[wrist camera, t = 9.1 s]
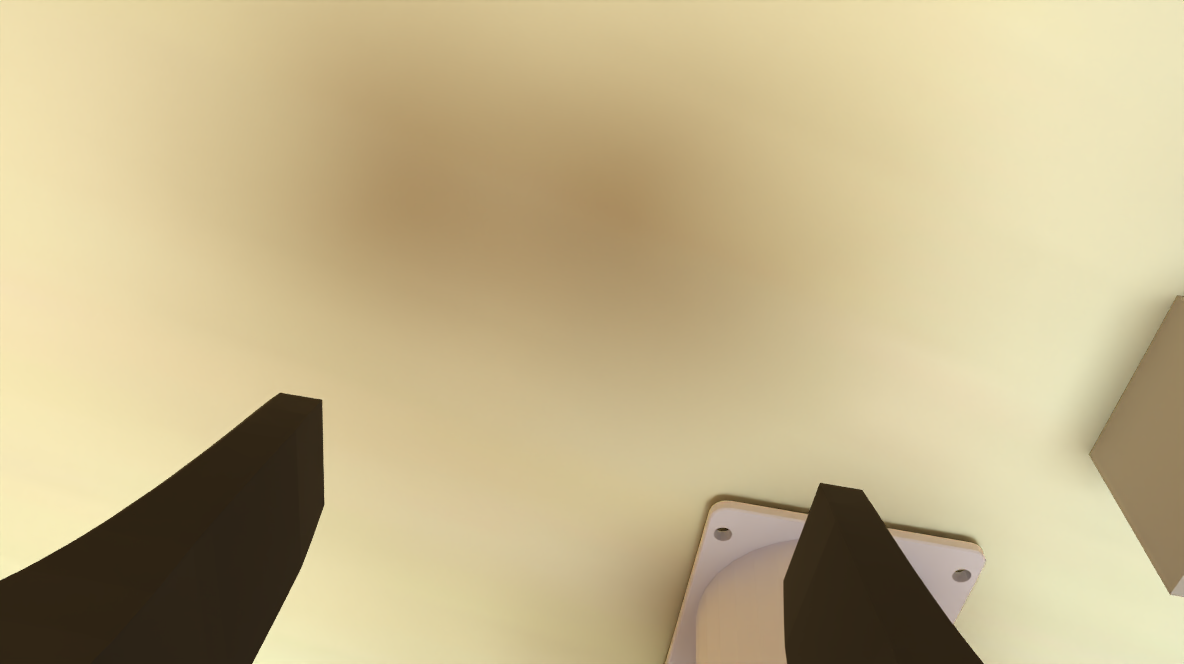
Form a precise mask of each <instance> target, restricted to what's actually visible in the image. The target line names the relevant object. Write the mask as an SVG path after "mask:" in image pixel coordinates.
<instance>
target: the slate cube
mask: <svg viewBox="0 0 1184 664" xmlns="http://www.w3.org/2000/svg"><path fill="white" fill-rule="evenodd" d="M1089 456H1090V457H1091V459H1092V461H1093V462H1094V464H1095V466H1096V468H1097V469H1098V471H1099V473H1100V475H1101V476H1102V478H1103V480H1104V481H1105V483H1106V485H1107V487H1108V488H1109V490H1110V492H1111V494H1112V495H1113V497H1114V499H1115V500H1116V502H1117V504H1118V506H1119V507H1120V509H1121V511H1122V513H1123V514H1124V516H1125V518H1126V519H1127V521H1128V523H1129V525H1130V526H1131V528H1132V530H1133V532H1134V533H1135V535H1136V537H1137V538H1138V540H1139V542H1140V544H1141V545H1142V547H1143V549H1144V551H1145V552H1146V554H1147V556H1148V557H1149V559H1150V561H1151V563H1152V564H1153V566H1154V568H1155V570H1156V571H1157V573H1158V575H1159V576H1160V578H1161V580H1162V582H1163V583H1164V585H1165V587H1166V588H1167V590H1168V592H1169V594H1170V595H1175V596H1181V597H1184V296H1178V295H1177V297H1176V299H1175V301H1174V303H1173V304H1172V306H1171V308H1170V310H1169V312H1168V313H1167V315H1166V317H1165V319H1164V321H1163V322H1162V324H1161V326H1160V328H1159V330H1158V331H1157V333H1156V335H1155V337H1154V339H1153V340H1152V342H1151V344H1150V346H1149V348H1148V349H1147V351H1146V353H1145V355H1144V357H1143V358H1142V360H1141V362H1140V364H1139V366H1138V367H1137V369H1136V371H1135V373H1134V375H1133V377H1132V378H1131V380H1130V382H1129V384H1128V386H1127V387H1126V389H1125V391H1124V393H1123V395H1122V396H1121V398H1120V400H1119V402H1118V404H1117V405H1116V407H1115V409H1114V411H1113V413H1112V414H1111V416H1110V418H1109V420H1108V422H1107V423H1106V425H1105V427H1104V429H1103V431H1102V432H1101V434H1100V436H1099V438H1098V440H1097V441H1096V443H1095V445H1094V447H1093V449H1092V450H1091V452H1090V454H1089Z"/></svg>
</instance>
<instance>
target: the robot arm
mask: <svg viewBox="0 0 1184 664" xmlns="http://www.w3.org/2000/svg"><path fill="white" fill-rule="evenodd" d="M323 507H324V467H323V419H322V400H320V399H314V398H308V397H302V396H296V395H290V394H284V393H279V394H278V395H276V396H275V397H273V398H272V399H270V400H269V401H268V402H267V403H265V404H264V405H263V406H261V407H260V408H259V409H258V410H256V411H255V412H254V413H253V414H251V415H250V416H249V417H248V418H246V419H245V420H244V421H243V422H241V423H240V424H239V425H238V426H236V427H235V428H234V429H233V430H231V431H230V432H229V433H228V434H226V435H225V436H224V437H222V438H221V439H220V440H219V441H217V442H216V443H215V444H213V445H212V446H211V447H210V448H208V449H207V450H206V451H204V452H203V453H202V454H200V455H199V456H198V457H196V458H195V459H194V460H192V461H191V462H190V463H188V464H187V465H186V466H184V467H183V468H182V469H180V470H179V471H178V472H176V473H175V474H174V475H172V476H171V477H170V478H168V479H167V480H165V481H164V482H163V483H161V484H160V485H158V486H157V487H156V488H154V489H153V490H151V491H150V492H148V493H147V494H145V495H144V496H142V497H141V498H139V499H138V500H136V501H135V502H134V503H132V504H131V505H129V506H128V507H126V508H125V509H123V510H122V511H120V512H119V513H117V514H116V515H114V516H113V517H111V518H110V519H108V520H107V521H105V522H104V523H102V524H100V525H99V526H97V527H96V528H94V529H92V530H91V531H89V532H88V533H86V534H84V535H83V536H81V537H79V538H78V539H76V540H74V541H73V542H71V543H69V544H68V545H66V546H64V547H62V548H61V549H59V550H57V551H55V552H54V553H52V554H50V555H48V556H47V557H45V558H43V559H41V560H39V561H38V562H36V563H34V564H32V565H30V566H28V567H26V568H25V569H23V570H21V571H19V572H17V573H15V574H13V575H10V576H8V577H6V578H4V579H2V580H0V664H252V663H253V661H254V659H255V657H256V655H257V653H258V652H259V650H260V648H261V646H262V644H263V642H264V640H265V638H266V636H267V634H268V632H269V630H270V628H271V626H272V625H273V623H274V621H275V619H276V617H277V615H278V613H279V611H280V609H281V607H282V605H283V603H284V601H285V599H286V597H287V595H288V593H289V591H290V589H291V587H292V585H293V583H294V581H295V579H296V577H297V575H298V573H299V571H300V569H301V567H302V565H303V562H304V559H305V557H306V554H307V551H308V549H309V546H310V543H311V541H312V538H313V535H314V532H315V530H316V527H317V524H318V521H319V518H320V515H321V513H322V510H323ZM718 528H727V529H729V530H727V531H718V530H716V529H718ZM985 562H986V559H985V557H984V554H983V551H982V549H981V547H979V546H978V545H977V544H974V543H971V542H965V541H960V540H954V539H948V538H942V537H937V536H931V535H925V534H919V533H914V532H908V531H902V530H896V529H891V528H887V527H886V526H885V524H884V522H883V521H882V519H881V518H880V516H879V515H878V513H877V512H876V510H875V509H874V507H873V506H872V504H871V503H870V501H869V500H868V498H867V497H866V495H865V494H864V492H863V491H862V490H859V489H853V488H847V487H841V486H835V485H829V484H823V483H820V484H819V487H818V490H817V492H816V495H815V498H814V500H813V503H812V506H811V508H810V511H809V514H804V513H798V512H793V511H787V510H781V509H775V508H770V507H764V506H758V505H752V504H747V503H741V502H735V501H724V500H723V501H720V502H717V503H715V504H714V505H712V507H711V508H710V510H709V513H708V517H707V520H706V524H705V527H704V531H703V534H702V538H701V541H700V544H699V548H698V551H697V555H696V558H695V562H694V565H693V569H692V572H691V576H690V579H689V583H688V586H687V589H686V593H685V596H684V600H683V603H682V607H681V610H680V614H679V617H678V621H677V624H676V627H675V631H674V634H673V638H672V641H671V645H670V648H669V652H668V655H667V659H666V662H665V664H983V662H982V661H981V660H980V658H979V657H978V656H977V655H976V653H975V652H974V651H973V650H972V648H971V647H970V646H969V645H968V643H967V642H966V641H965V639H964V638H963V637H962V636H961V634H960V633H959V632H958V630H957V629H956V628H955V626H954V625H953V624H954V623H955V621H956V619H957V617H958V615H959V613H960V611H961V609H962V607H963V606H964V604H965V602H966V600H967V598H968V596H969V594H970V592H971V590H972V589H973V587H974V585H975V583H976V581H977V579H978V577H979V575H980V573H981V572H982V570H983V568H984V566H985ZM960 569H965V570H964V571H961V572H955V571H957V570H960Z"/></svg>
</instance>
